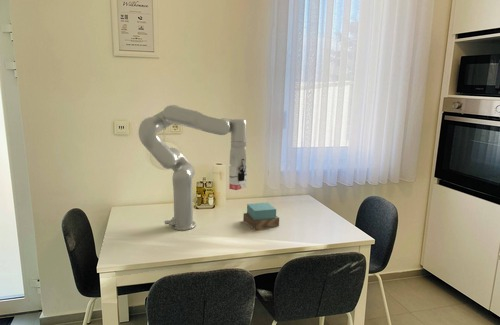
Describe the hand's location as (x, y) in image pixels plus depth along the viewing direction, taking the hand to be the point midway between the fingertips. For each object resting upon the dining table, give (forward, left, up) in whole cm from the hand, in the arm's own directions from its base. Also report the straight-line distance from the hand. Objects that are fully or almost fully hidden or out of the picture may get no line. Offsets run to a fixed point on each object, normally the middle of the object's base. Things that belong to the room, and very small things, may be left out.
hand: (238, 178), depth 187 cm
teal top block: (+14, 0, -21) cm, 26 cm away
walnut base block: (+14, 0, -26) cm, 30 cm away
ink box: (0, 0, -5) cm, 5 cm away
